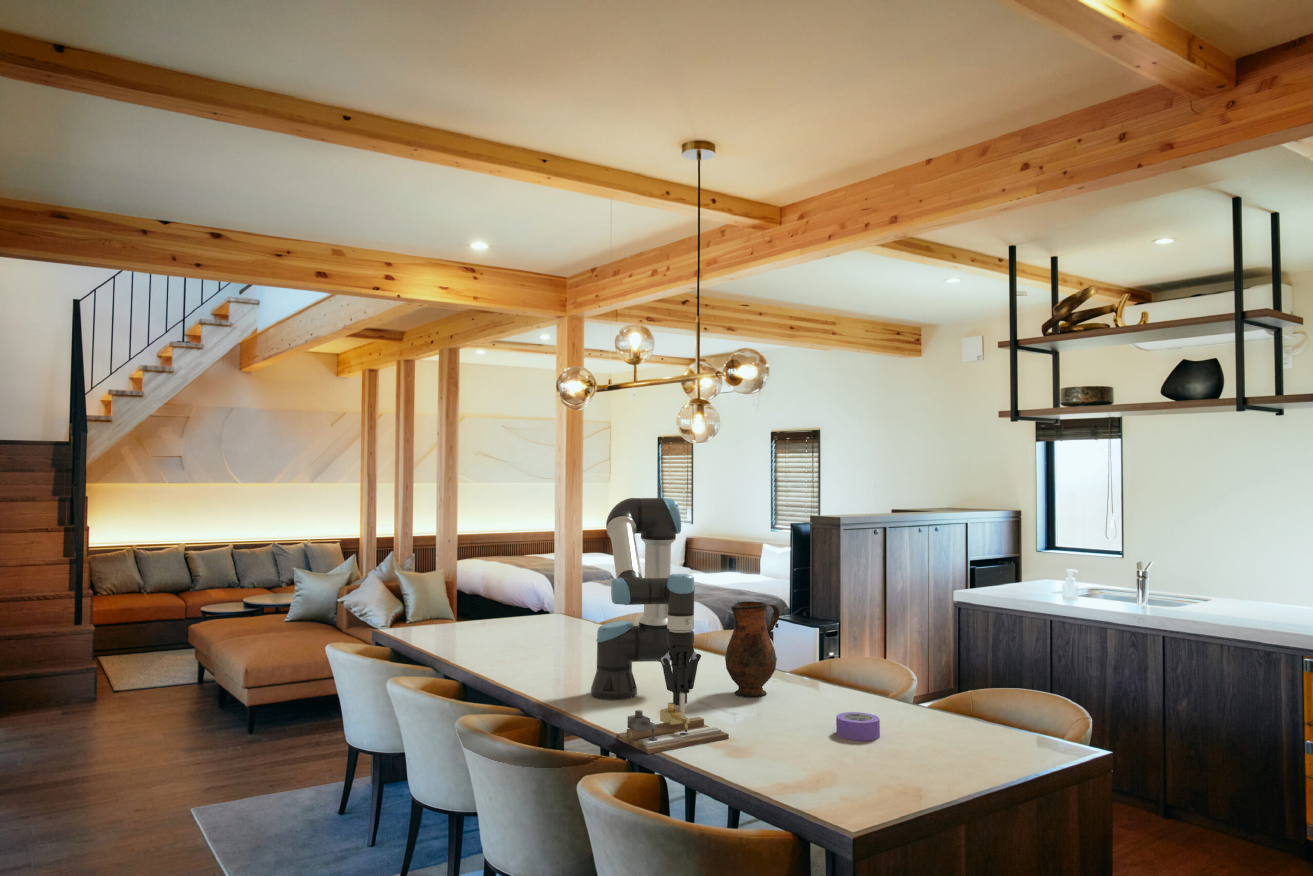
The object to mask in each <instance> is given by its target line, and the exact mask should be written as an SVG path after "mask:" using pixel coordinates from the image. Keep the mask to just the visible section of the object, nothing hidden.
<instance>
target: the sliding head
mask: <svg viewBox="0 0 1313 876" xmlns="http://www.w3.org/2000/svg"><path fill="white" fill-rule="evenodd" d="M659 721H660V722H662V723H667V724H669V725H674V724H679V723H682V722H684V723H685V732H688V723H690V719H689V717H686V716H685V717H684V716H682V711H679V710H676V709H675V703H673V702H667V708H662V709H660V710H659Z"/></svg>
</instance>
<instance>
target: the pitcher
mask: <svg viewBox="0 0 1313 876" xmlns="http://www.w3.org/2000/svg"><path fill="white" fill-rule="evenodd" d="M768 607H770V608H772V610H773V613H774V614H773V618H772V620H771V622H770V624H769V625H768V626H767V620H766V619H767V608H768ZM730 609H731V610H732V611H731V612H732V614H733V618H734V628H733V631H732V633H731V637H730V639H729V642H728V645H727V647H726V650H725V651H726V653H725V655H724V659H725V660H724V661H725V669H726V670H727V672H728V675H729V676H730V678H731V680H732V681H733V682H734V684H735V685H737V687H738V688H737V690H735V691H734V695H735V696H736V697H739V698H740V697H741V698H748V699H749V698H754V699H755V698H762V697H765V696H766V695H767V694H768V693H767V691H766V690H764V688H763V686H765V684H767V682H768V681H770V679H771V677H772V676H773V674H774V673H775V671H776V669H777V661H778V658H777V655H776V654H777V653H776V650H775V647H774V644H773V642H772V640H771V638H770V634H771V632H772V630H773V628H775V625H777V623H778V622H779V619H780V610H779V608H778V606H776V605H774V604H769V603H766V602H761V601H737V602H735V603H734V605H732V606H731V607H730Z"/></svg>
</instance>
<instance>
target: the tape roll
mask: <svg viewBox="0 0 1313 876" xmlns="http://www.w3.org/2000/svg"><path fill="white" fill-rule="evenodd" d="M835 719H836V720H835V721H836V725H835V726H836V728H835V729H836V735H837V737H840V738H842V739H845V740H850V741H859V742H865V741H867V742H869V741H875V740H877V739H879V738H881V729H880V728H881V727H880V726H881V724H880V723H881V722H880V719H881V718H880V717H879V716H878V715H876V714H872V713H868V712H862V711H861V712H858V711H849V712H847V711H846V712H841V713H838V714H836V716H835Z"/></svg>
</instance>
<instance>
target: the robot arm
mask: <svg viewBox="0 0 1313 876" xmlns="http://www.w3.org/2000/svg"><path fill="white" fill-rule="evenodd" d="M605 524H606V525H605V528H606V533H607V535H608V537H609V538H610V541H611V547H612V557H613V562H614V570H615V578H613V579H612V581H611V587H610V596H611V602H612V603H613V604H615V605H624V606H634V605H636V606H637V605H639V606H640V605H643V615H642V616H641V617H640V618H639V619H638V625H634V624H633V622H632V621H630V620H625V621H624V620H619V621H612V622H607V623H603V624H602V625H600V626H599V627H598V629H597V634H596V641H595V642H597V643H596V672H595V674H594V677H593V681H592V683H591V687H590V695H591V696H592V697H593V698H596V699H600V700H610V701H611V700H612V701H613V700H615V701H616V700H617V701H618V700H626V699H631V698H634V697H637V695H638V687H637V684H636V680H635V677H634V673H633V663H638V662H639V663H640V662H641V663H642V662H646V663H647V662H649V663H650V662H659V663H660V664H661V666H662V671H663V675H664V682H665V686H666V690H667V691H669V692H672V703H675V709H676V710H679V711H682V716H684V717H686V704H687V703H688V694H689V693H690V691H691V690H693V689H694V685H695V682H696V681H695V680H696V676H697V670H698V666H699V665H698V664H699V661H701V657H702V655H701V653H697V652H696V651H695V649H694V642H695V632H694V629H695V590H696V589H695V588H696V586H695V577H694V576H693V575H692V574H690V573H689V574H688V573H671V567H672V566H671V561H672V560H671V559H672V558H671V556H672V544H673V543H674V542H675V541H676V539H677V538H676V537H677V536H676V535H678V534H681V532H682V517H681V512H680V507H679V505H678V502H677V501H676V500H675V499H673V498H667V497H666V498H665V497H629V498H626V499H623V500H621V501H620V502H618V503H617V504H616V505H614V507H613V508H612V509H611V511H610V512H609V513H608V516H607V519H606V523H605ZM636 534H640V539H641V541H642V542H643V543H644V546H645V547H644V549H645V550H644V553H645V554H644V577H643V575H642V570H641V565H640V563H641V562H640V557H639V553H638V546H637V540H636V536H635V535H636Z"/></svg>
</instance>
